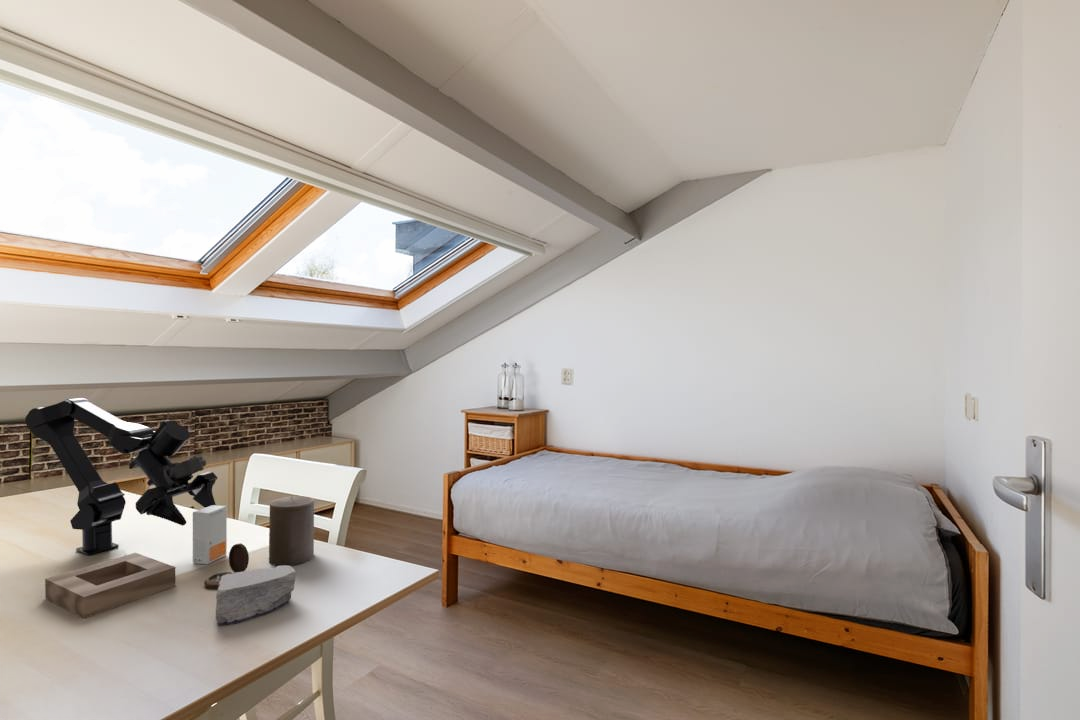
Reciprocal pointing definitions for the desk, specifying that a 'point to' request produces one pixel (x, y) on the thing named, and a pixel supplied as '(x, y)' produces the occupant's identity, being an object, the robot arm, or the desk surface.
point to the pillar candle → (291, 530)
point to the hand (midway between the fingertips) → (200, 517)
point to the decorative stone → (253, 593)
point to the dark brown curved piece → (231, 565)
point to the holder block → (109, 584)
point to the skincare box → (209, 534)
